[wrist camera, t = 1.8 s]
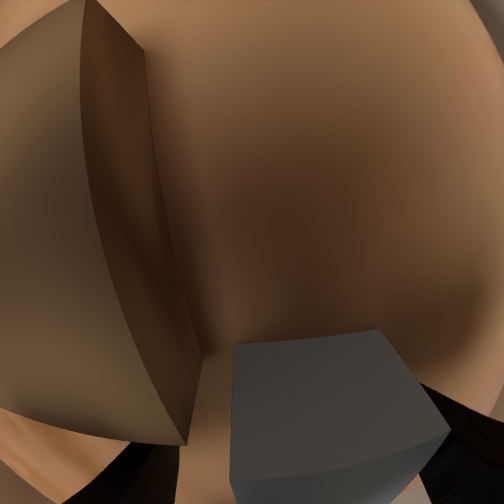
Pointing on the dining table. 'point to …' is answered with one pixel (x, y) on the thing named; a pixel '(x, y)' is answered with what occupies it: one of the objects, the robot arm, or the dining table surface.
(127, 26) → the dining table surface
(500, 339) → the dining table surface
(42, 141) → the walnut block
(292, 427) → the cube
